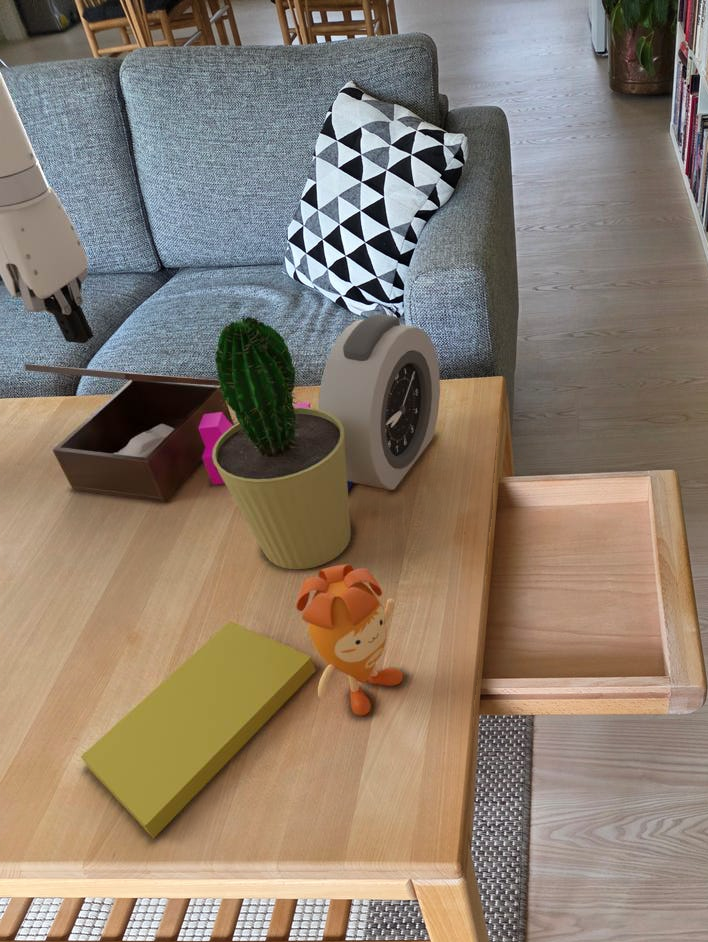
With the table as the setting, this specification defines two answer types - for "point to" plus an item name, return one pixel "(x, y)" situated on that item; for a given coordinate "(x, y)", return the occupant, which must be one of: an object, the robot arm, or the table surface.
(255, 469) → the potted cactus
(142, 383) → the chest
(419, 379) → the alarm clock
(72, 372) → the lid
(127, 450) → the toy car
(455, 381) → the table surface
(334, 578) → the toy figure
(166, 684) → the flat olive board
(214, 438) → the toy block
